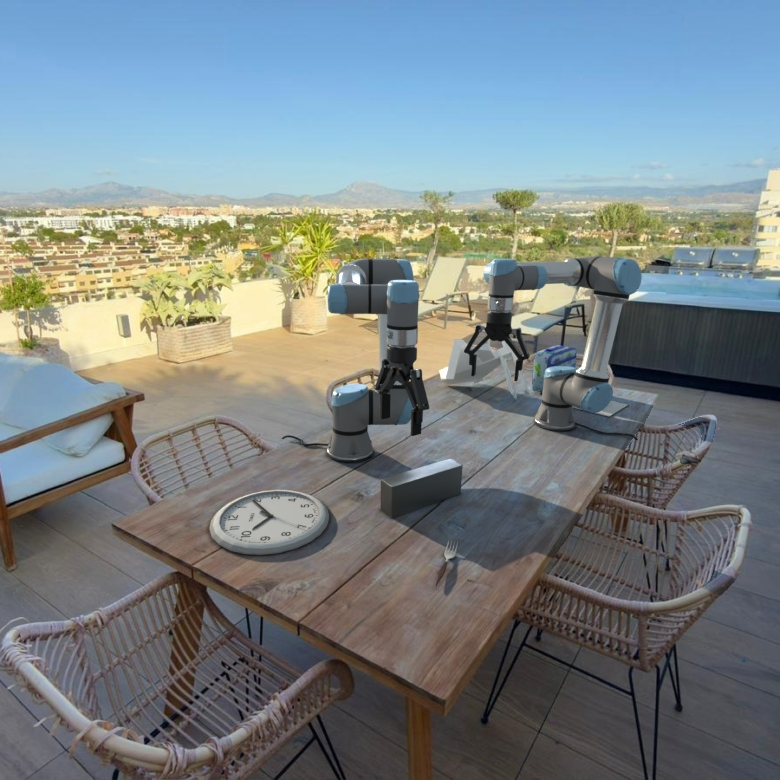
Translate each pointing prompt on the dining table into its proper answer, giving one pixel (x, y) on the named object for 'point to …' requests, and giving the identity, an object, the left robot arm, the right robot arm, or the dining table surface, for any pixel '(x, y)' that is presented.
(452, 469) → the bar
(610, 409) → the invitation card
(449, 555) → the fork
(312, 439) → the dining table surface
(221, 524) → the wall clock
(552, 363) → the lunch box
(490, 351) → the white plastic object
